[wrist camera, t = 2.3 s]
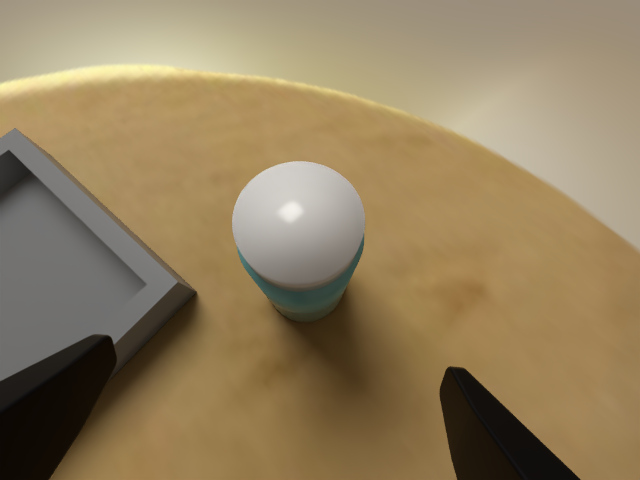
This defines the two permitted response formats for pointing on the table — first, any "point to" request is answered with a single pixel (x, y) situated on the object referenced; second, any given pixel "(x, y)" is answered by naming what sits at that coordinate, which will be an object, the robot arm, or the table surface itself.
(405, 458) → the table surface
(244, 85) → the table surface
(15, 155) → the tray
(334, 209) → the ball
